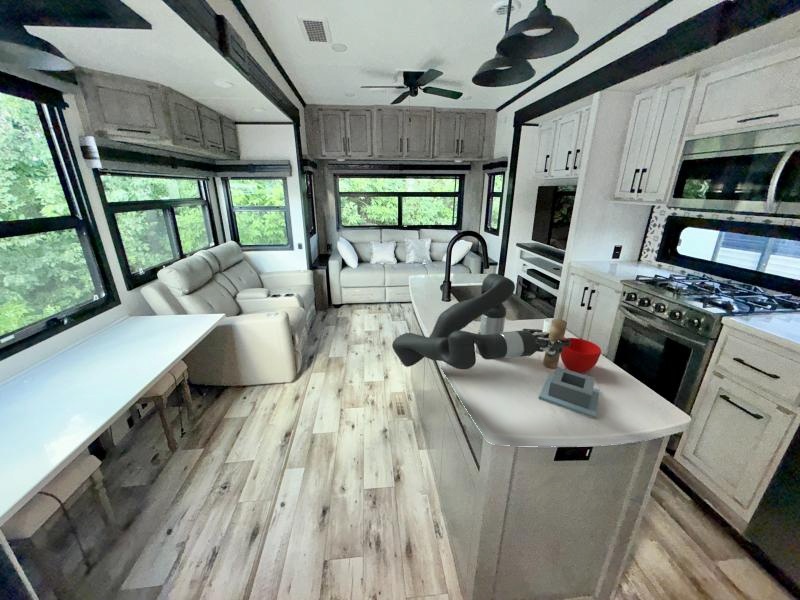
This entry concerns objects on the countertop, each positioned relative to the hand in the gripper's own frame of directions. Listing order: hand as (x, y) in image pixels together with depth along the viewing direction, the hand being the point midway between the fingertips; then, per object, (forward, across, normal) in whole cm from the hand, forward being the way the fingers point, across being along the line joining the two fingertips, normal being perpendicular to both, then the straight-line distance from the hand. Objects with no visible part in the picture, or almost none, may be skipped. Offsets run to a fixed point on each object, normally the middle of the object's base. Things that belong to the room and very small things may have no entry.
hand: (563, 339), depth 93 cm
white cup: (+28, -34, -22) cm, 50 cm away
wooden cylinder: (-3, 0, -9) cm, 9 cm away
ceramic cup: (+22, -15, -22) cm, 35 cm away
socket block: (+8, 0, -22) cm, 23 cm away
